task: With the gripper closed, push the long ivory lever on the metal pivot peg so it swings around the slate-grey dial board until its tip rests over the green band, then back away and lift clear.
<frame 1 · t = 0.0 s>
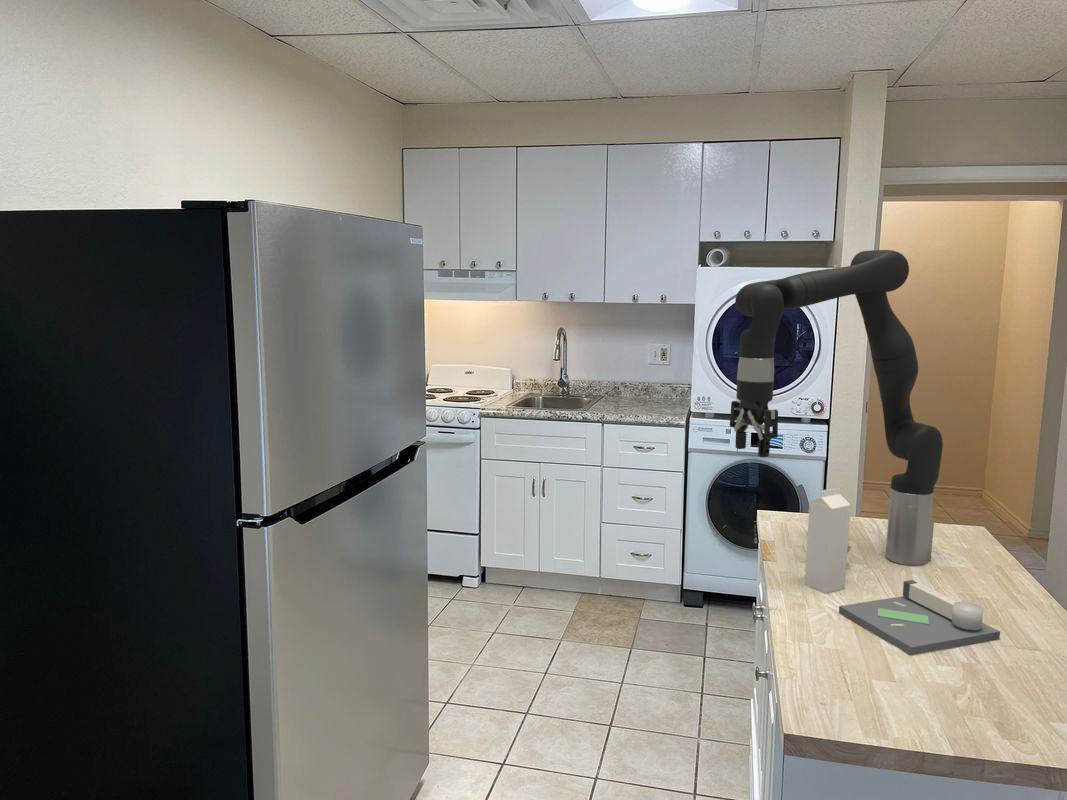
hand: (751, 452, 174), 29 cm above the counter, tool pointing down, fingers open, 8 cm apart
milk: (824, 587, 176), on the counter
cupcake: (828, 565, 189), on the counter
tuning lever: (941, 603, 158), point 4 cm above the counter, hinge at 0.0°
dial board: (916, 625, 156), on the counter
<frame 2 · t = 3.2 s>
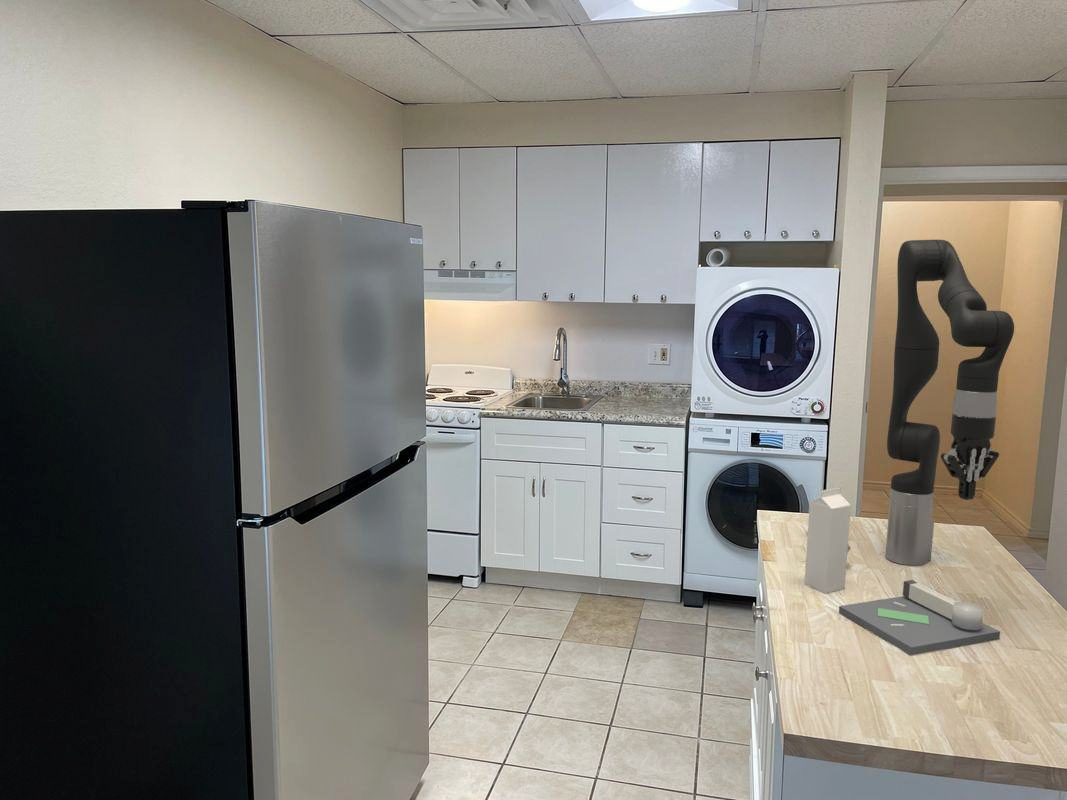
hand: (965, 498, 160), 24 cm above the counter, tool pointing down, fingers closed
nothing on the counter moved.
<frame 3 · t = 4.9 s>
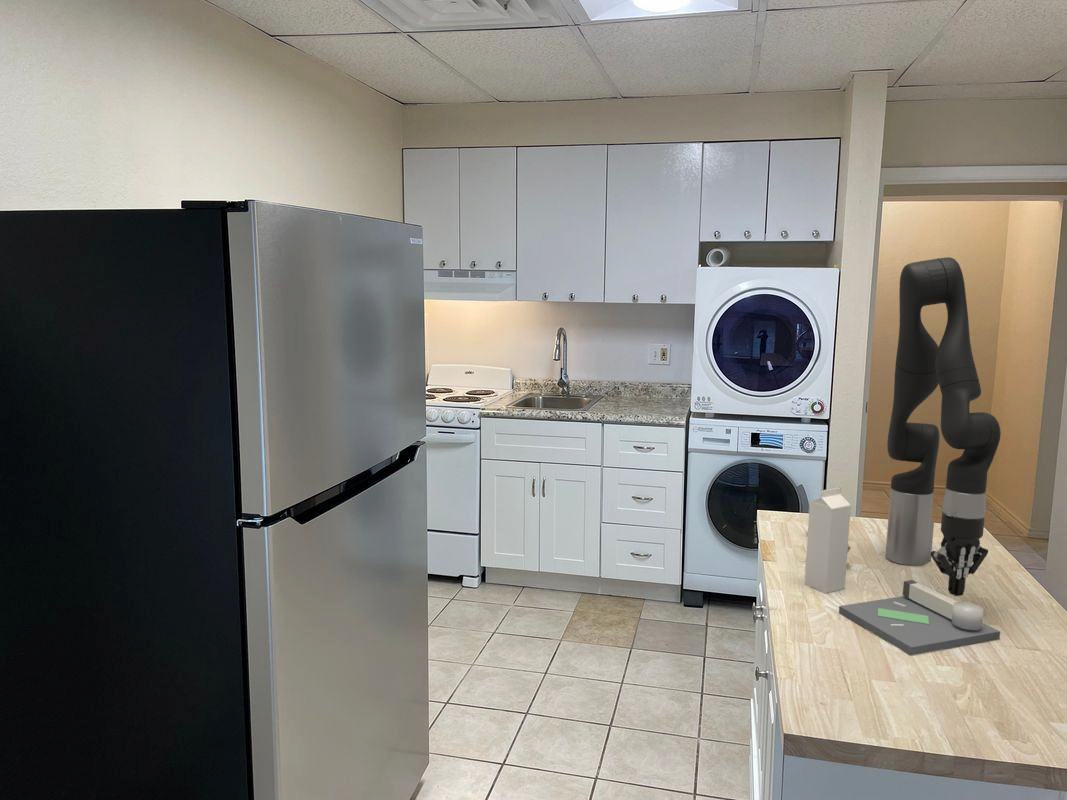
hand: (955, 594, 163), 4 cm above the counter, tool pointing down, fingers closed
nothing on the counter moved.
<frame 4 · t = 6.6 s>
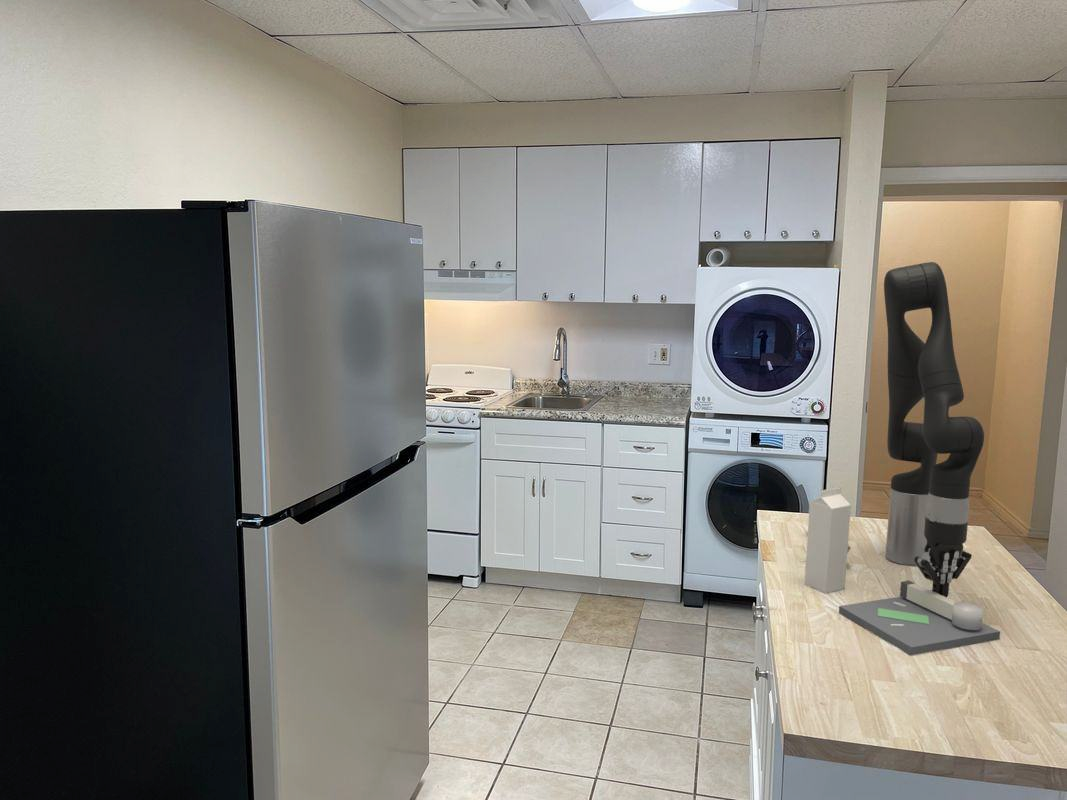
hand: (939, 599, 161), 3 cm above the counter, tool pointing down, fingers closed
tuning lever: (939, 603, 158), point 4 cm above the counter, hinge at 3.0°, touching gripper
everything else where it was.
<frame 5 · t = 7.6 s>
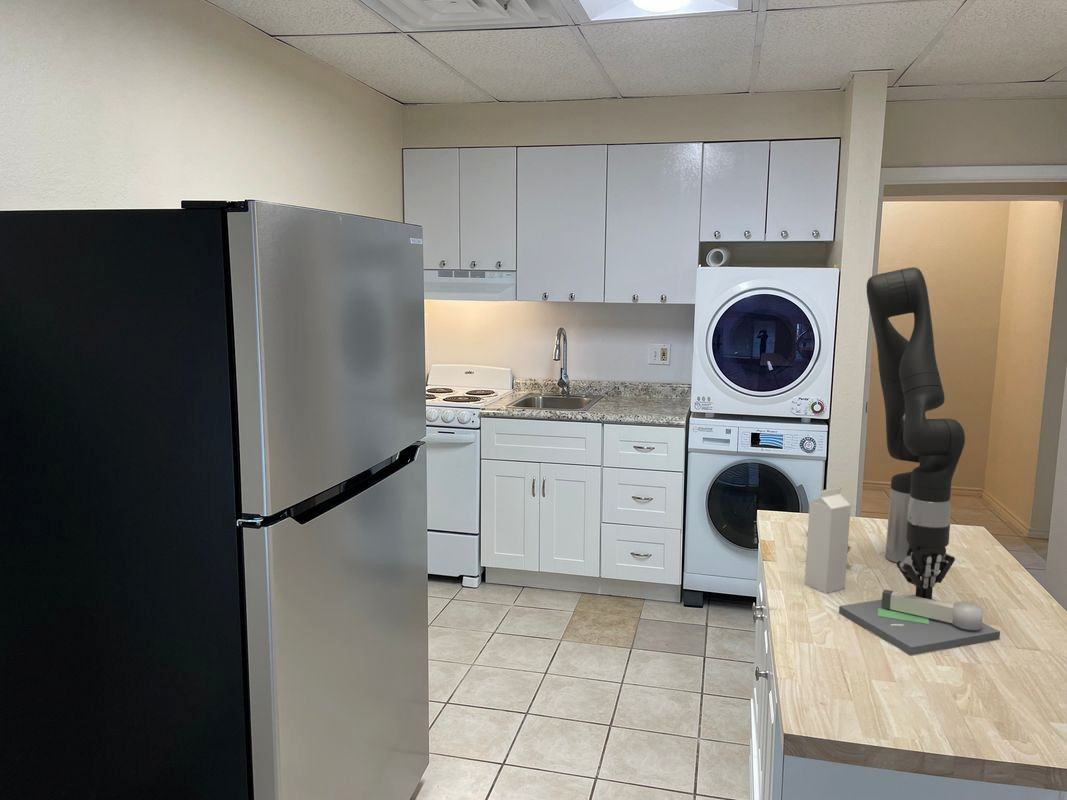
hand: (923, 603, 159), 3 cm above the counter, tool pointing down, fingers closed
tuning lever: (931, 607, 156), point 4 cm above the counter, hinge at 36.3°, touching gripper
everything else where it was.
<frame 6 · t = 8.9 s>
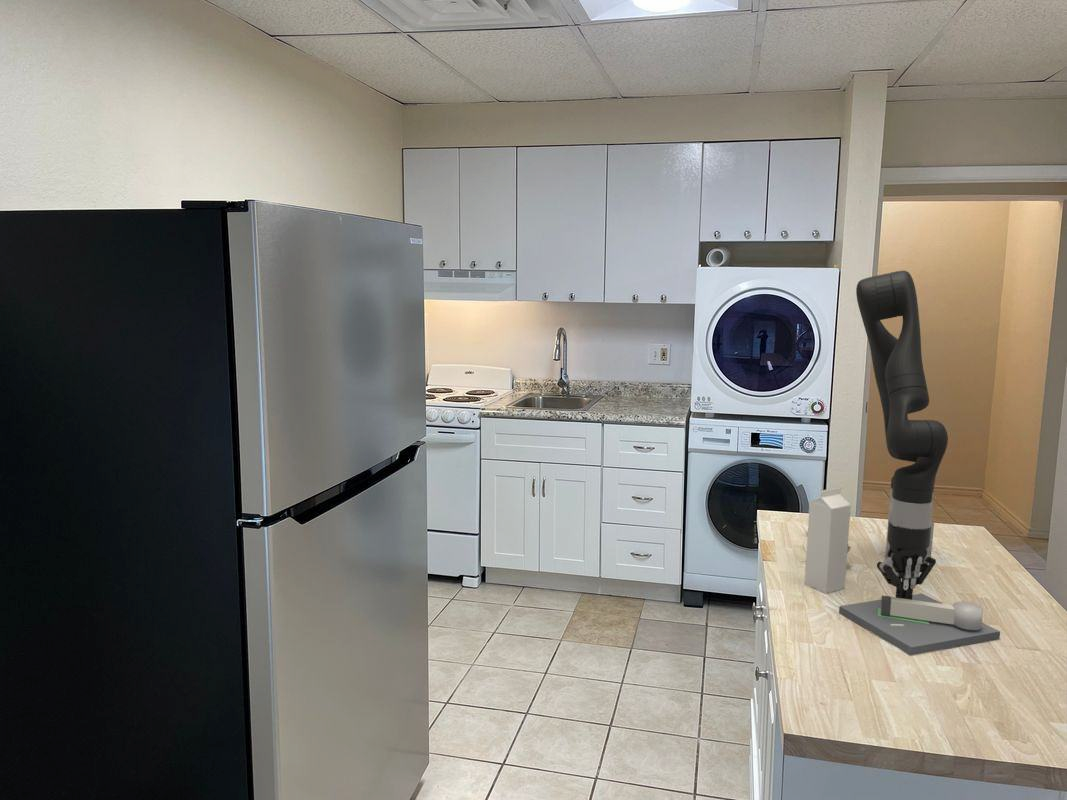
hand: (903, 605, 159), 3 cm above the counter, tool pointing down, fingers closed
tuning lever: (930, 610, 154), point 4 cm above the counter, hinge at 49.9°, touching gripper
everything else where it was.
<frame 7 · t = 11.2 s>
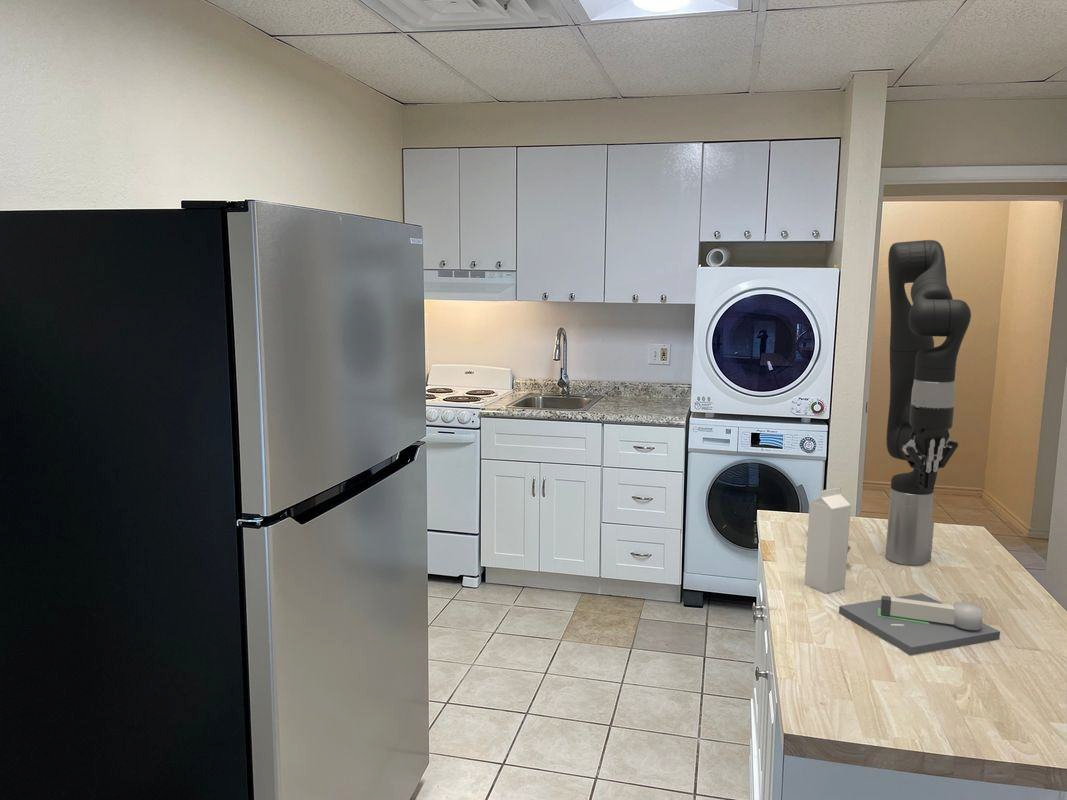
hand: (925, 489, 158), 26 cm above the counter, tool pointing down, fingers closed
tuning lever: (930, 610, 154), point 4 cm above the counter, hinge at 50.2°
everything else where it was.
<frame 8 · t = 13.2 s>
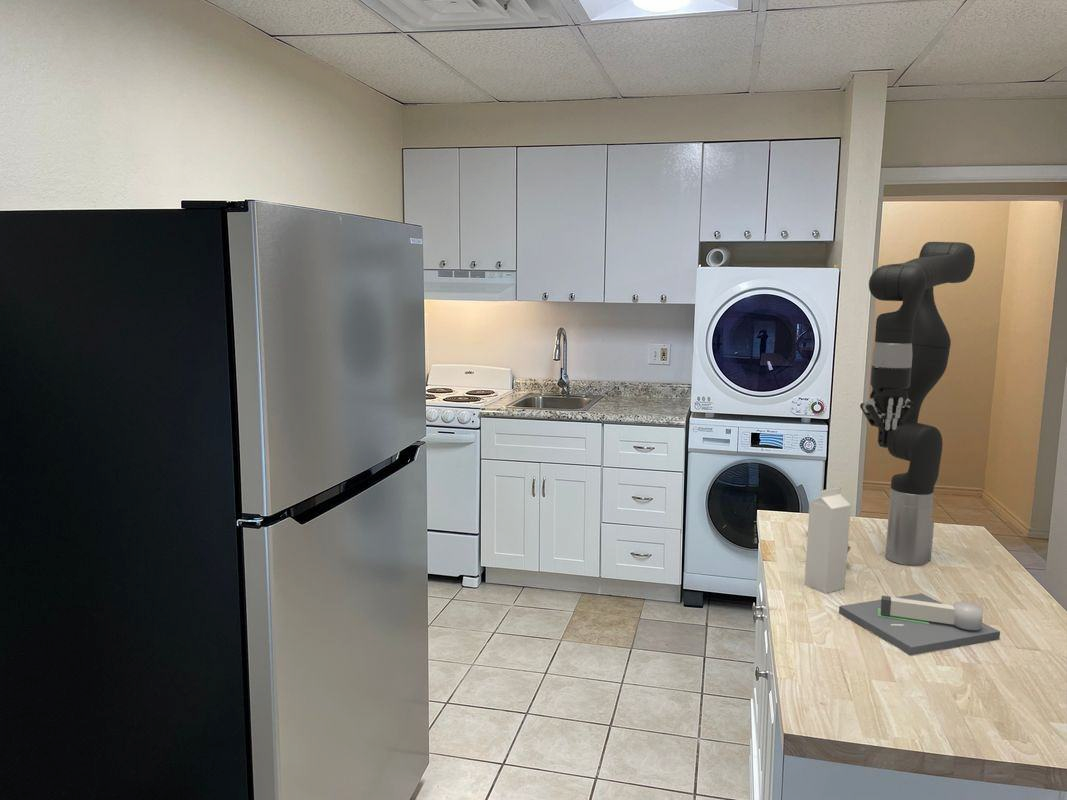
hand: (885, 446, 168), 32 cm above the counter, tool pointing down, fingers closed
nothing on the counter moved.
at the end: tuning lever at +50° (first picture: +0°); milk moved 0.2 cm from its start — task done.
